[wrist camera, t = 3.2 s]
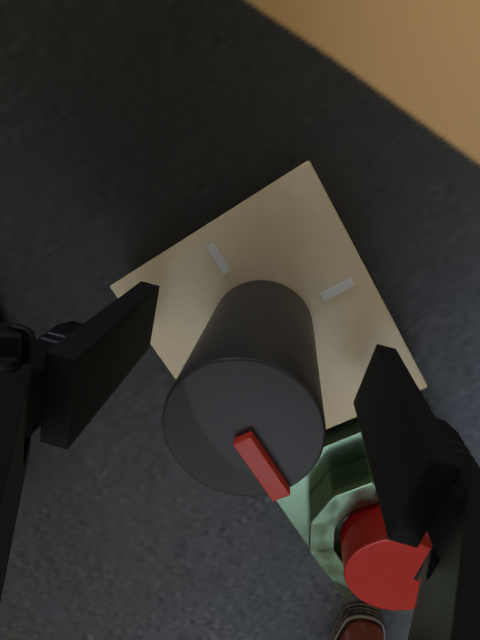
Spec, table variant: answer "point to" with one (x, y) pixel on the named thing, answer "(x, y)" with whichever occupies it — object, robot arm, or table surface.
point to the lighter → (358, 623)
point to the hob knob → (250, 395)
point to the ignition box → (332, 498)
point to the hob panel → (282, 267)
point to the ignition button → (380, 561)
